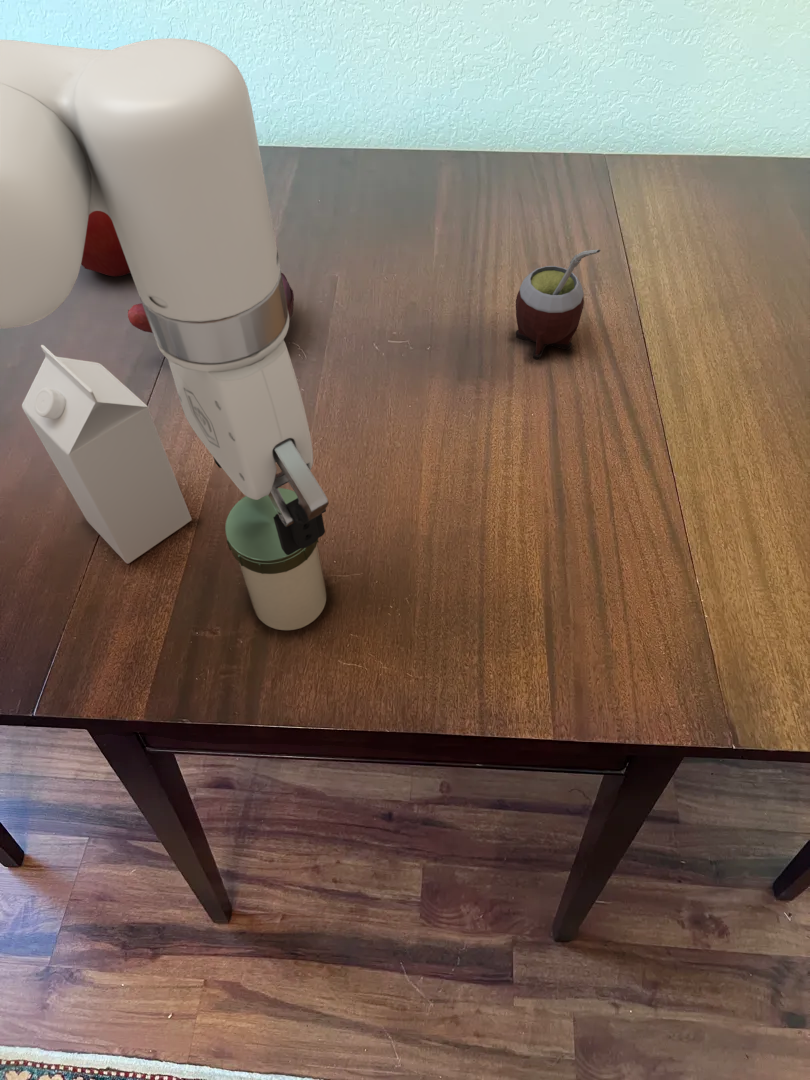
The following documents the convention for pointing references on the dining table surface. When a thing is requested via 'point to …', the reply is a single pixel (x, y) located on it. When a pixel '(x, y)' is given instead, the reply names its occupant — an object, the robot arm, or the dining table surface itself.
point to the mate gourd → (550, 306)
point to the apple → (103, 247)
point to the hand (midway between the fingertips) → (268, 498)
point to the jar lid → (261, 536)
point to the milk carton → (106, 453)
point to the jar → (288, 594)
